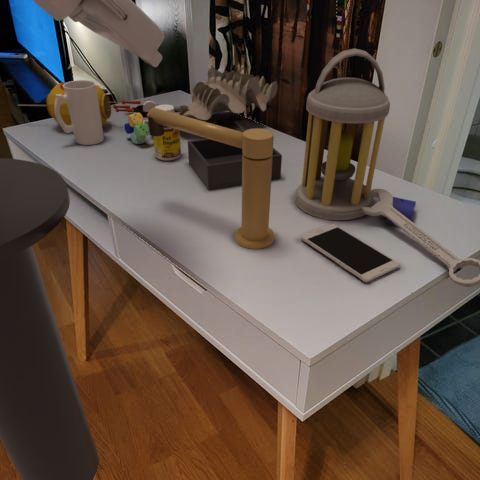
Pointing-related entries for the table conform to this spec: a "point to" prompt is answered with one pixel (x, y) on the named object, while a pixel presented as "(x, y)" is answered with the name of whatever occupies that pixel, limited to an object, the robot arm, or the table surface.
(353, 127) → the lantern
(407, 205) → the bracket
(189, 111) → the seashell
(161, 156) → the supplement bottle
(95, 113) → the mug
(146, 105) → the watch
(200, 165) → the tray
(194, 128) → the spout
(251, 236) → the faucet column
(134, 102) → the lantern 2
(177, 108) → the pen
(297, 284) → the table surface
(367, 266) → the smartphone
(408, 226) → the wrench
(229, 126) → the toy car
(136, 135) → the dice
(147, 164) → the table surface
